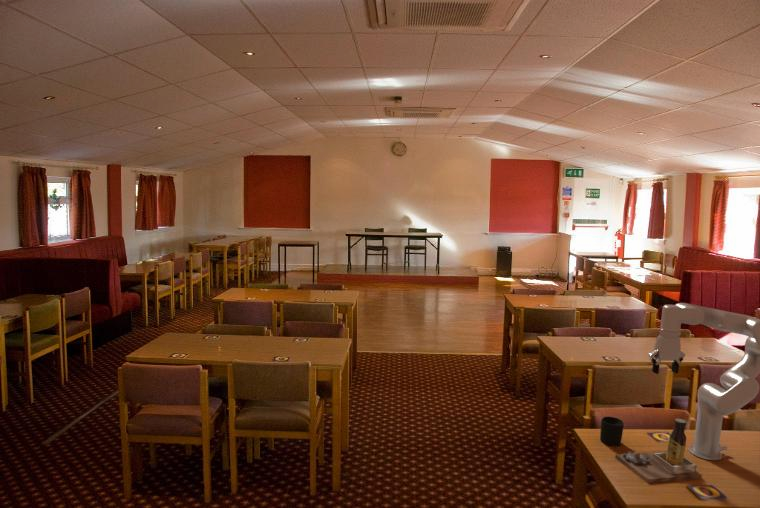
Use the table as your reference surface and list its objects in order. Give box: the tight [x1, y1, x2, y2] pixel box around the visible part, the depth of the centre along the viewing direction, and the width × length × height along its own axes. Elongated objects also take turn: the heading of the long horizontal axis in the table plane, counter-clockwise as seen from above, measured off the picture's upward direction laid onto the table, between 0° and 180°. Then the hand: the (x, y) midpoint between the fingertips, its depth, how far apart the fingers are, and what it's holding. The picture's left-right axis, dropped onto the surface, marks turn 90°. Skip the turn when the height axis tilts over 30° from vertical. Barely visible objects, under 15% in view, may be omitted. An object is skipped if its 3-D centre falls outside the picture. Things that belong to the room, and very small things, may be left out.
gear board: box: [614, 450, 703, 484], centre depth 229 cm, size 25×20×5 cm
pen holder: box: [599, 416, 625, 447], centre depth 251 cm, size 9×9×10 cm
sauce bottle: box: [666, 418, 687, 466], centre depth 228 cm, size 6×6×20 cm
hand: (665, 372), depth 239 cm, fingers open, 9 cm apart
